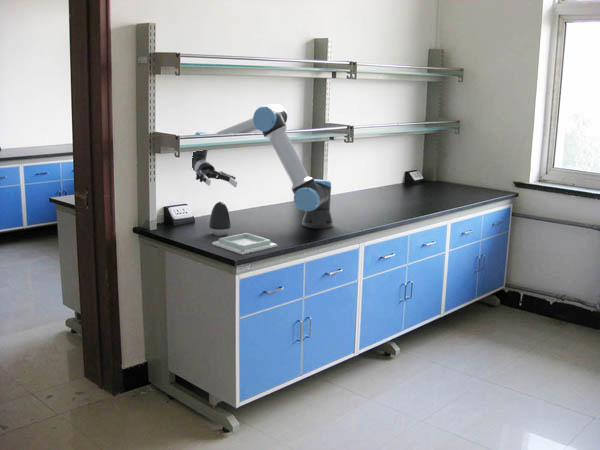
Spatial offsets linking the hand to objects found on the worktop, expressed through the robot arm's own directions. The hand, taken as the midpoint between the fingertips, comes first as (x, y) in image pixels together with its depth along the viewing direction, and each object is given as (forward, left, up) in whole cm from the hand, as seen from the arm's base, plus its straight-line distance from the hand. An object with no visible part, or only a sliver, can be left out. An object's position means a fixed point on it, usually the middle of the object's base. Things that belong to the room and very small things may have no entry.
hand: (223, 183), depth 307 cm
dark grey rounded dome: (+1, +6, -23) cm, 24 cm away
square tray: (-10, +25, -23) cm, 35 cm away
